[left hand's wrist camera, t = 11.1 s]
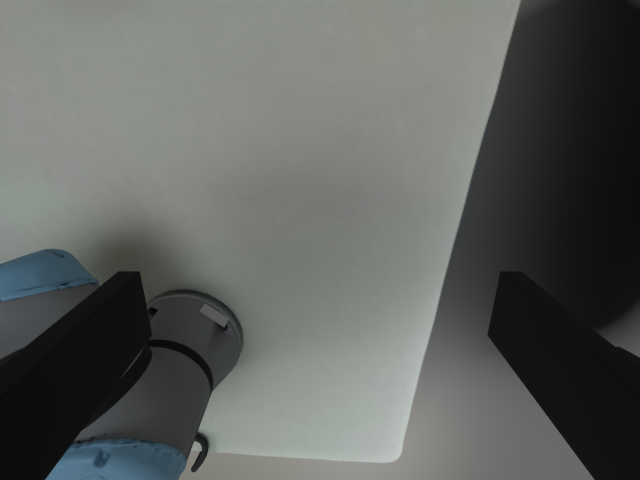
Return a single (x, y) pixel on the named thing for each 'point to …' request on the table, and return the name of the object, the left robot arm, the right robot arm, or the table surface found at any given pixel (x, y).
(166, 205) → the table surface
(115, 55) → the table surface
